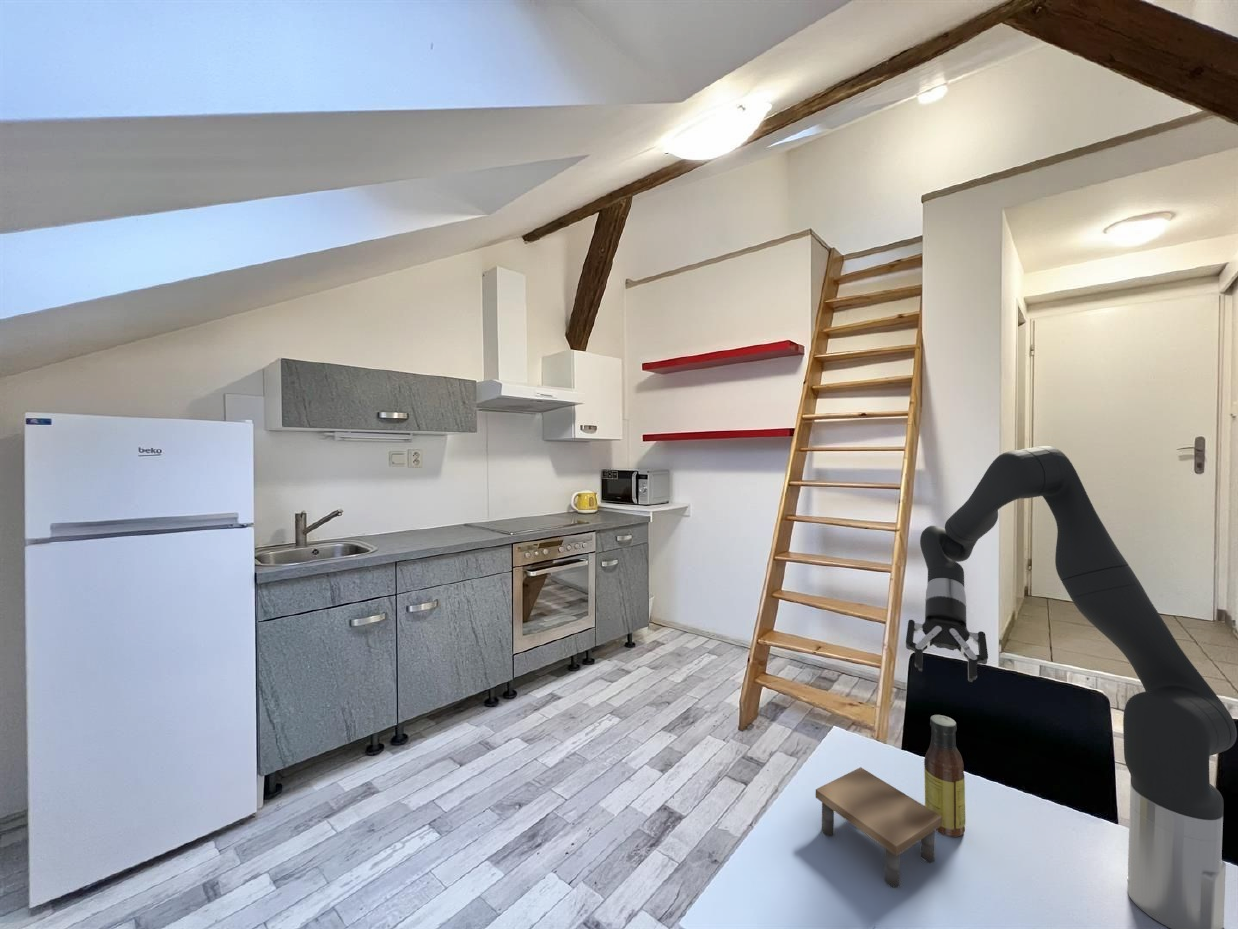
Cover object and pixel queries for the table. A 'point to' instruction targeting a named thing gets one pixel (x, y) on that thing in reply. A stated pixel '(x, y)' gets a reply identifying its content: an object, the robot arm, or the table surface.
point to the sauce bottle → (945, 777)
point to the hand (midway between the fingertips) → (945, 674)
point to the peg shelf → (880, 816)
